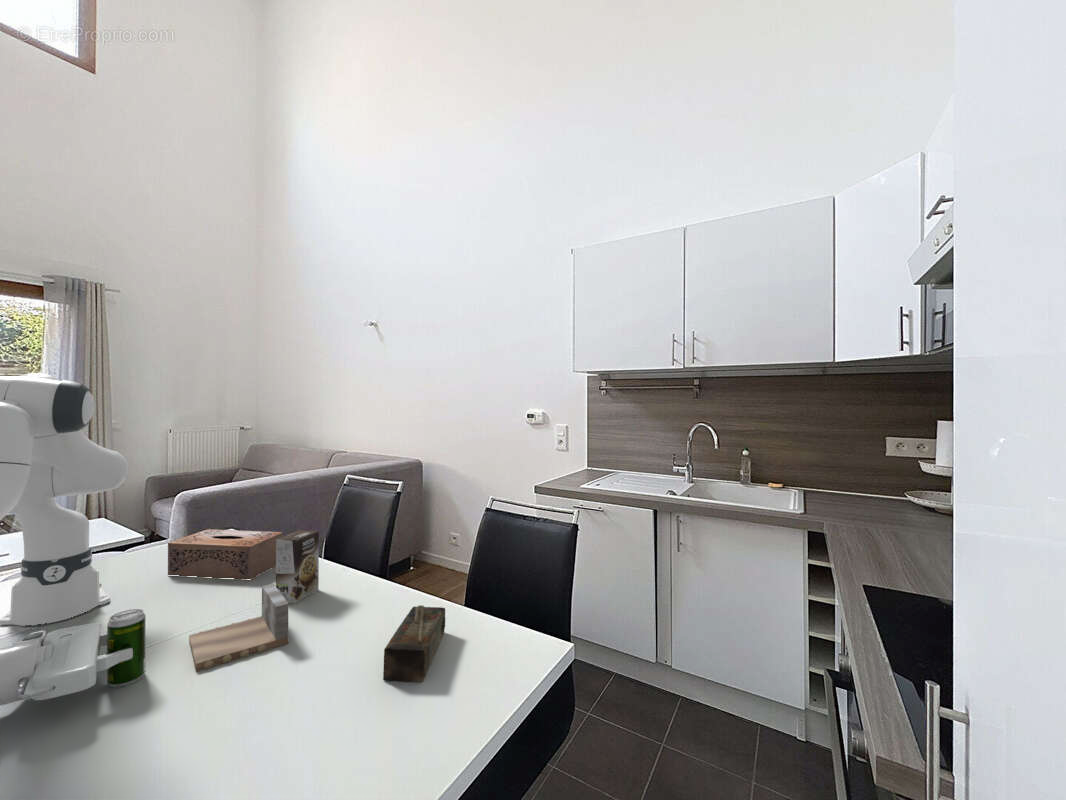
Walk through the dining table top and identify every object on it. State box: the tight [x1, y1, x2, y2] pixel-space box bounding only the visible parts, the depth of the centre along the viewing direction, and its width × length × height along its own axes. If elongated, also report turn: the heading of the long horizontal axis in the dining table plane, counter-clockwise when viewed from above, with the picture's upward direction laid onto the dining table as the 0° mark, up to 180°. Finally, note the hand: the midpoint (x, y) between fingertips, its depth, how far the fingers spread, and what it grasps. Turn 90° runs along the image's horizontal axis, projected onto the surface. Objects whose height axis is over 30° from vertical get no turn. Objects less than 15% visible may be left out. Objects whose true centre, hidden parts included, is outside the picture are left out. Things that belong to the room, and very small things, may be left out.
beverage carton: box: [382, 604, 446, 683], centre depth 96 cm, size 8×19×7 cm, turn 178°
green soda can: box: [106, 608, 146, 688], centre depth 87 cm, size 5×5×12 cm
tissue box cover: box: [167, 528, 283, 580], centre depth 142 cm, size 26×14×10 cm, turn 84°
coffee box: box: [275, 529, 320, 604], centre depth 124 cm, size 9×6×16 cm
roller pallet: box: [188, 583, 289, 672], centre depth 100 cm, size 15×16×8 cm
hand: (132, 642), depth 87 cm, fingers open, 7 cm apart
